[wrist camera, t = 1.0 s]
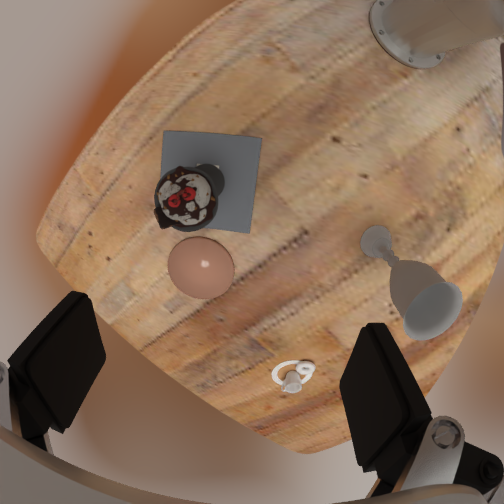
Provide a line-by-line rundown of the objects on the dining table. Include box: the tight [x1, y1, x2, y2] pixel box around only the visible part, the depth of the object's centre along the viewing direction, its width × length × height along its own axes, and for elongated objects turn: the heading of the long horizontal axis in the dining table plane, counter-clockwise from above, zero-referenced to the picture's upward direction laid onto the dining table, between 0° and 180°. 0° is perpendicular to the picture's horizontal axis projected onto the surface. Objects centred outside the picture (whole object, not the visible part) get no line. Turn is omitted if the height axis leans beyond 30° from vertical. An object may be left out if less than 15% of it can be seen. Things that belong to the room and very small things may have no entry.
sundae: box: [154, 164, 225, 232], centre depth 29 cm, size 7×7×15 cm
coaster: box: [168, 237, 234, 299], centre depth 41 cm, size 10×10×1 cm
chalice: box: [360, 225, 463, 340], centre depth 30 cm, size 7×7×18 cm
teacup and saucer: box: [272, 360, 315, 393], centre depth 48 cm, size 9×8×4 cm
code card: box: [161, 131, 262, 233], centre depth 36 cm, size 13×13×1 cm
